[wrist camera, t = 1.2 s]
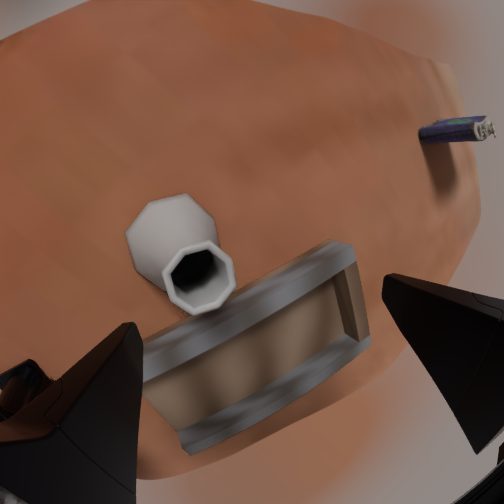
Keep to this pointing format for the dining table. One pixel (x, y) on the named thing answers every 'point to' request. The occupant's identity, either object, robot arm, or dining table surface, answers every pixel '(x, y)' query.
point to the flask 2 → (457, 130)
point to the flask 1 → (182, 253)
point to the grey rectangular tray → (258, 347)
